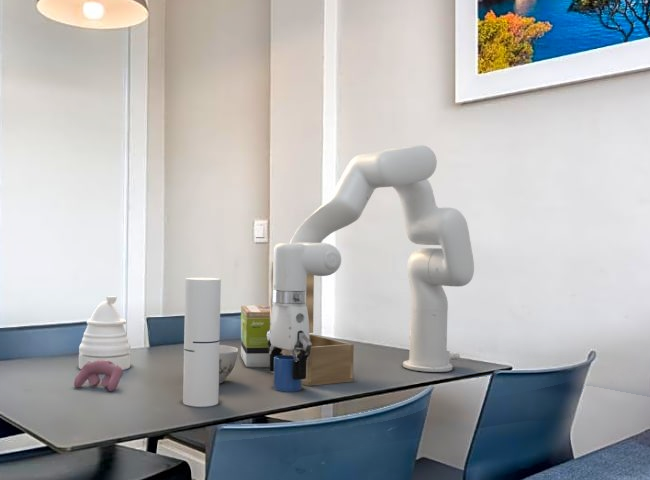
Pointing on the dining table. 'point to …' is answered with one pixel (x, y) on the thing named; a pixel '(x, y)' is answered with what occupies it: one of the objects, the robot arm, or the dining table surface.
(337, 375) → the wooden box
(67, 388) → the dining table surface
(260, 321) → the tea box
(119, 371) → the video game controller
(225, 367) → the teacup
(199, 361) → the cylindrical container
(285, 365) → the cup
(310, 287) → the lid
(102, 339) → the honey pot
